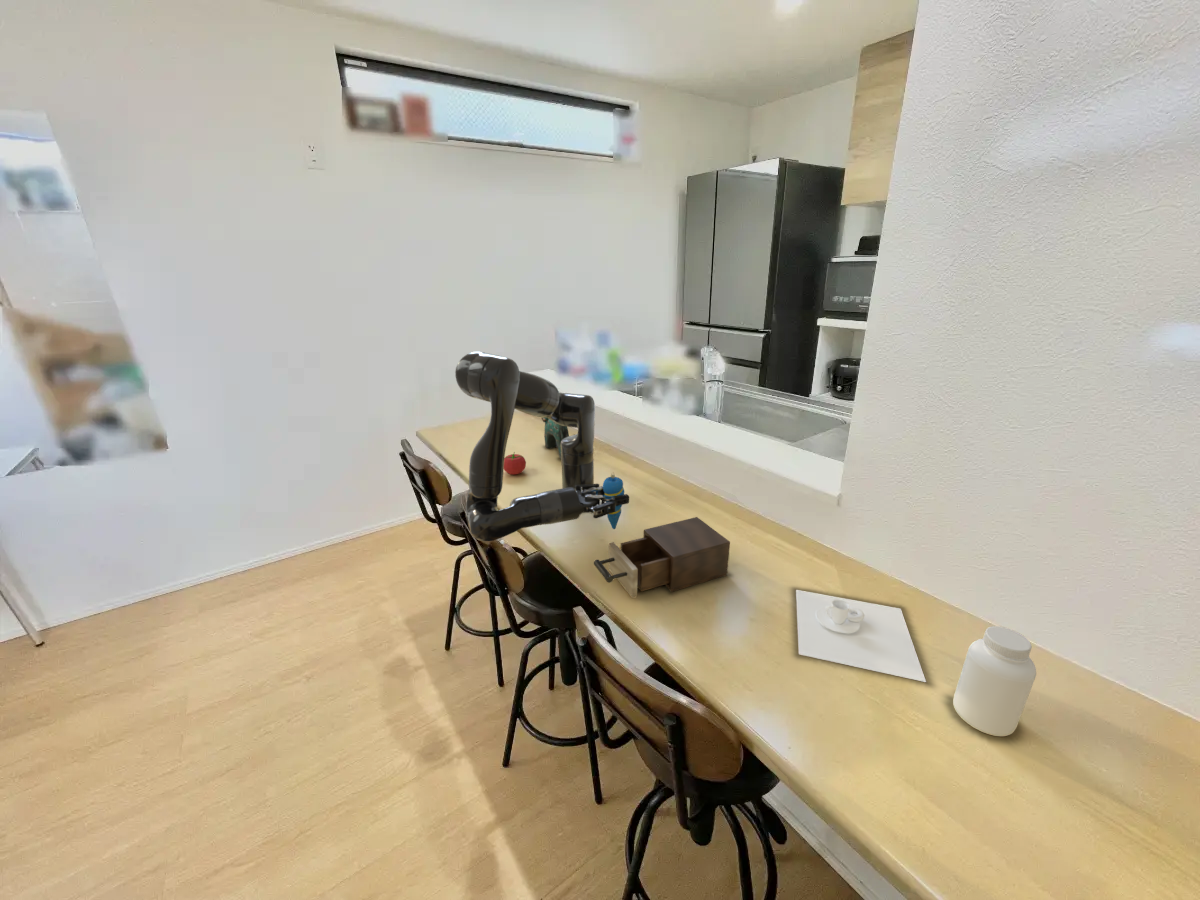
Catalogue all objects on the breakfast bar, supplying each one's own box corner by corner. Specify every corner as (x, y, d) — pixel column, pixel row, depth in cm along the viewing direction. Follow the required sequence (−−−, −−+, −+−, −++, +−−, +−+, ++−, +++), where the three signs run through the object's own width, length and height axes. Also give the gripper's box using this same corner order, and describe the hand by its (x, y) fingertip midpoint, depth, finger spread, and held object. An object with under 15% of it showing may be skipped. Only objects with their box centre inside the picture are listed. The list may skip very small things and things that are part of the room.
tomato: (524, 477, 164) (522, 456, 161) (501, 477, 164) (499, 456, 161) (528, 468, 171) (526, 448, 169) (505, 468, 172) (504, 448, 169)
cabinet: (671, 592, 106) (673, 557, 103) (642, 561, 117) (643, 529, 114) (727, 575, 111) (730, 541, 108) (694, 548, 122) (696, 516, 119)
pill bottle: (939, 696, 80) (962, 621, 74) (985, 692, 80) (1011, 617, 75) (978, 740, 72) (1007, 660, 67) (1029, 736, 73) (1061, 656, 68)
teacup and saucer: (861, 613, 99) (865, 596, 97) (867, 640, 92) (871, 622, 90) (814, 604, 101) (817, 588, 100) (816, 630, 94) (819, 612, 93)
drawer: (611, 604, 101) (611, 575, 98) (589, 574, 111) (589, 547, 108) (687, 581, 108) (688, 554, 105) (660, 555, 118) (661, 530, 115)
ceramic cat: (541, 445, 194) (538, 396, 187) (556, 443, 196) (554, 394, 189) (558, 462, 177) (556, 408, 170) (575, 459, 179) (573, 406, 172)
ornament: (621, 535, 118) (622, 478, 113) (600, 533, 119) (600, 476, 114) (625, 524, 123) (626, 469, 118) (604, 522, 124) (605, 467, 119)
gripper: (565, 504, 105) (637, 491, 111) (546, 479, 118) (612, 468, 124) (566, 535, 108) (636, 521, 114) (548, 507, 120) (611, 495, 126)
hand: (623, 493), depth 119 cm, fingers closed on ornament, 5 cm apart
